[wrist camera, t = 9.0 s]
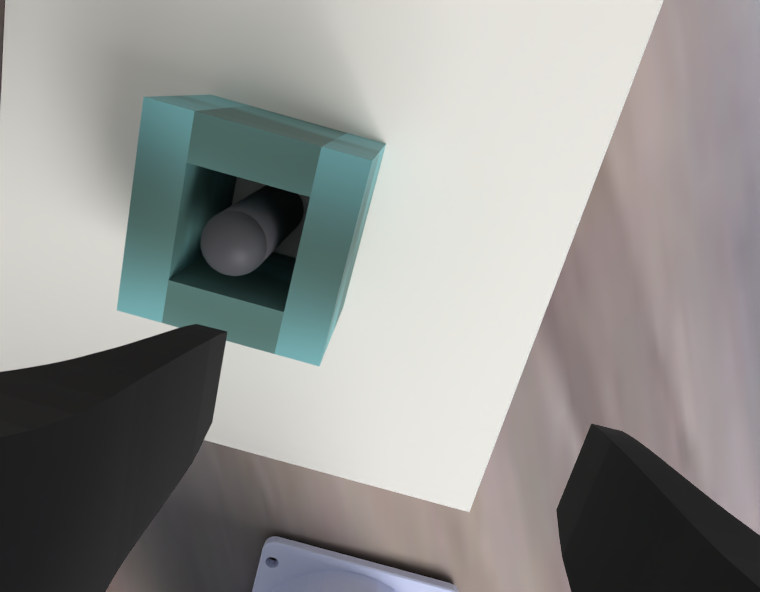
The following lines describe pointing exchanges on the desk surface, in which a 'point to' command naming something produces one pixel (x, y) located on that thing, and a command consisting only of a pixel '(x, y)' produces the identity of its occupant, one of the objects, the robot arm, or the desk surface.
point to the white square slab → (288, 210)
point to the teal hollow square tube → (215, 193)
